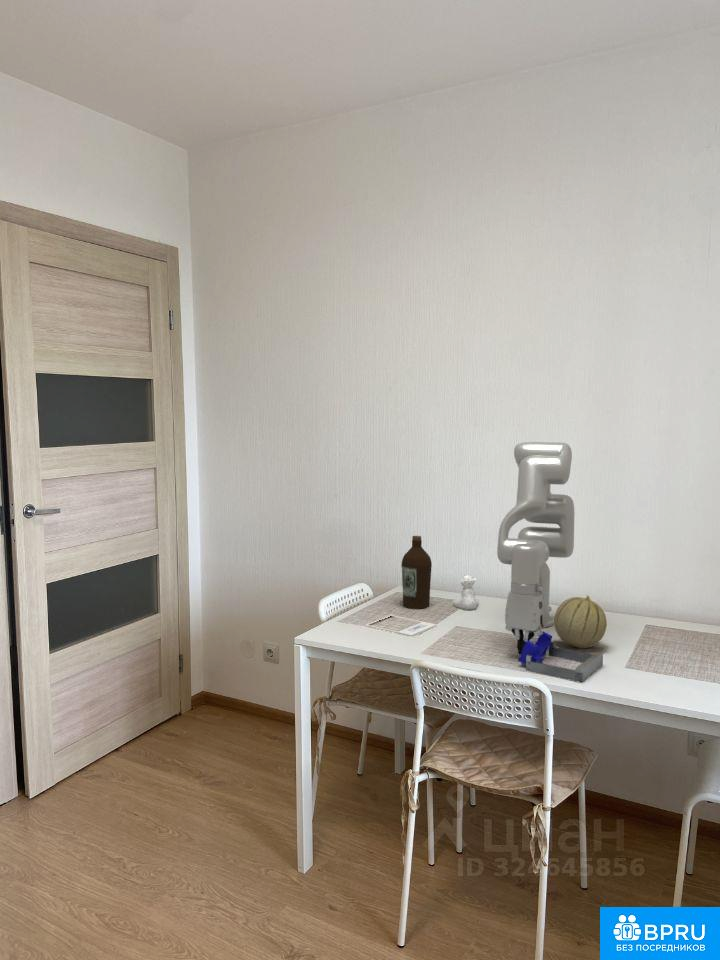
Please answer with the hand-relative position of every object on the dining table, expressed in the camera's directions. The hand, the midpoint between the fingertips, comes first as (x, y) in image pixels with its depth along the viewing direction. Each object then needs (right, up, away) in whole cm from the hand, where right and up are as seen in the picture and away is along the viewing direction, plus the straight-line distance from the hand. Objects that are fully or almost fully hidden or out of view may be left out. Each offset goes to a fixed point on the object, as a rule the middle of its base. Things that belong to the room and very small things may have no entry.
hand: (523, 653), depth 202 cm
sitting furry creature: (-7, +3, +54) cm, 55 cm away
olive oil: (-25, +3, +57) cm, 62 cm away
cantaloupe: (+19, -1, +12) cm, 22 cm away
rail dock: (+9, -2, -6) cm, 11 cm away
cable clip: (+3, -1, -2) cm, 3 cm away
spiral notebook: (-32, +1, +32) cm, 45 cm away
